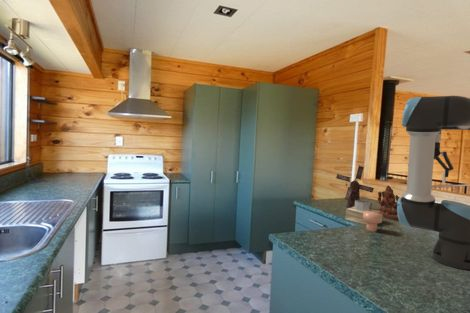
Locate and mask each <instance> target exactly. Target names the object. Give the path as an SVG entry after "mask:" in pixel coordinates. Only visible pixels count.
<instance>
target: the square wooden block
mask: <svg viewBox="0 0 470 313" xmlns="http://www.w3.org/2000/svg"><path fill="white" fill-rule="evenodd" d="M354 208H355V206H354V207H351V208H346V209H345V214H344V215H345V217H344V220H346V221H350V222H356V223H358V224H359V223H360V224H362V225H363V224H364V225H367V222H366V221H364V220H363V212H362V211H357V210H355V209H354ZM371 211H374V212H379V213H380V211H379V210H378V209H373V208H372V210H371Z"/></svg>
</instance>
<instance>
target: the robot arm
mask: <svg viewBox="0 0 470 313" xmlns="http://www.w3.org/2000/svg"><path fill="white" fill-rule="evenodd" d="M401 118H402V119H401V125H402V126H401V127H403V128H406V129H405V132H406V133H407V134H408V135H409V146H408V147H409V148H408V163H407V178H406V180H407V181H406V191H405V192H404V193H402V195H401V197H400V198H399V199H398V202H397V201H396V202H397V213H398V219H399V223H400V224H401V225H403V226H406V227H410V228H414V229H415V228H416V229H420V230H426V231H431V232H436V233H438V238H437V241H436V242H435V243H434V246H433V247H432V250H431V258H432V259H433V260H434V261H436V262H438V263H441V264H443V265H445V266H449V267H452V268H456V269H461V270H467V271H470V205H469V204H466V203H463V202H459V201H456V200H455V201H454V200H448V199H442V200H441V202H436V198H435V196H434V195H433V194H432V185H433V173H434V160H436V161H437V163H438V164H439V165H440V166H441V167H442V168H443V169H444V170H442V171H443V172H442V183H441V184H446V180H447V178H448V177H449V172H450V171H453V170H454V169H455V168H454V166H453V165H452V162H451V161H450V159H449V157H448V152H447V151H441V140H442V131H443V130H445V131H446V130H449V131H450V130H452V131H453V130H454V131H455V130H457V131H470V97H465V96H460V95H440V96H439V95H438V96H437V95H436V96H418V97H417V96H416V97H411V98H409V99H408V100H407V101H406V103H405V106H404V110H403V114H402V117H401ZM440 155H441V156H442V157H443V159H444V161H445V163H446V164H445V163H444V161H443V160H442V159H441V158H440Z"/></svg>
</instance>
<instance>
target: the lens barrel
mask: <svg viewBox="0 0 470 313" xmlns="http://www.w3.org/2000/svg"><path fill="white" fill-rule="evenodd" d="M354 209H355V210H357V211H362V212H364V211H371V210H372V209H373V202H371V201H370V200H364V199H360V200H355V208H354Z"/></svg>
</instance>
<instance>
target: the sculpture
mask: <svg viewBox="0 0 470 313" xmlns="http://www.w3.org/2000/svg"><path fill="white" fill-rule="evenodd" d="M377 196H378V197H377V202H378V203H379V205H380V207H379V210H378V211H380V213H382V214H383V215H382V218H385V219H390V220H393V221H397V222H398V221H399V219H398V213H397V202H398V199H399V198H401V197H400V196H399V195H398V194H396V195H395V194H394V189H393V188H391V186H390V185H386V186H385V190H383V191H378V192H377Z"/></svg>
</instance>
